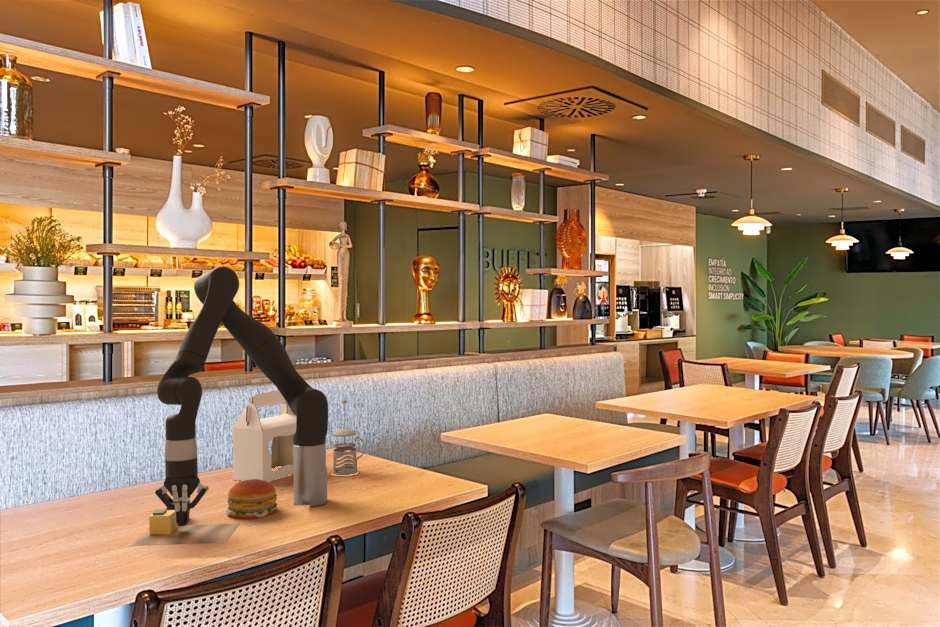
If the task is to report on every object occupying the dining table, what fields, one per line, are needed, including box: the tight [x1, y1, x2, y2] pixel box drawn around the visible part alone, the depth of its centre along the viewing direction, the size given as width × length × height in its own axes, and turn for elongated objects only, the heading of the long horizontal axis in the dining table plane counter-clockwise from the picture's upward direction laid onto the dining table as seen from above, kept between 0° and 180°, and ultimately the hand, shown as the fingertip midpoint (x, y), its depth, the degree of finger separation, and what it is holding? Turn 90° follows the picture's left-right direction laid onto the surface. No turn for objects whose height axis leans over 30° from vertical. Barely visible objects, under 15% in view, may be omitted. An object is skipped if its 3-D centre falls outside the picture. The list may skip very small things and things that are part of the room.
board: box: [130, 522, 241, 547], centre depth 181 cm, size 22×18×1 cm
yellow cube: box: [148, 508, 178, 534], centre depth 185 cm, size 5×5×5 cm
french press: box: [331, 399, 366, 475], centre depth 250 cm, size 10×12×25 cm
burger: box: [226, 479, 279, 520], centre depth 201 cm, size 14×14×10 cm
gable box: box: [232, 390, 296, 483], centre depth 248 cm, size 22×13×28 cm, turn 152°
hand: (182, 525), depth 186 cm, fingers closed
